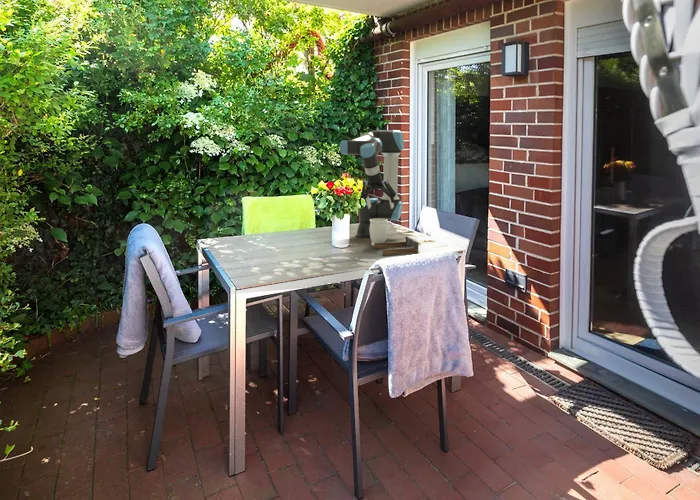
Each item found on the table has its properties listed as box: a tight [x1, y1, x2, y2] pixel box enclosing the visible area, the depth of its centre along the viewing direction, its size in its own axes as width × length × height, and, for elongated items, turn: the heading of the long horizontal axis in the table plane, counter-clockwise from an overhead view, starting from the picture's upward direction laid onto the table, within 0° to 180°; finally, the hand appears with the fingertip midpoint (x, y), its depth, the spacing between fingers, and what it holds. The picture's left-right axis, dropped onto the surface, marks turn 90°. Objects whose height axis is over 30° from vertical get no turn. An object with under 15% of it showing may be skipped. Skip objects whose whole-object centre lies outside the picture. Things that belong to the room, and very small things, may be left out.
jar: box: [369, 218, 389, 247], centre depth 300 cm, size 11×10×15 cm
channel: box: [373, 235, 419, 256], centre depth 287 cm, size 16×20×6 cm
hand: (381, 207), depth 284 cm, fingers open, 13 cm apart
